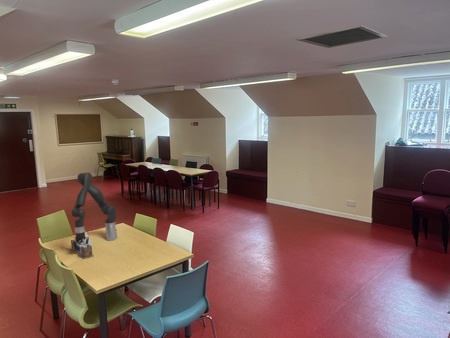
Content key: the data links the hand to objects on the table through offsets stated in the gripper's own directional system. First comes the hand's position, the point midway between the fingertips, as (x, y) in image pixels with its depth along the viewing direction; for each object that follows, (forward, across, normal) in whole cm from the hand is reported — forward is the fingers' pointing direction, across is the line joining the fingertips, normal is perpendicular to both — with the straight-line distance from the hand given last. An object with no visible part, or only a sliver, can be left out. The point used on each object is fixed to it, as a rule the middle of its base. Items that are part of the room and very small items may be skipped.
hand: (81, 250), depth 280 cm
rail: (+2, 0, 0) cm, 2 cm away
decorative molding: (+4, -13, -29) cm, 32 cm away
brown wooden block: (+3, 0, 0) cm, 3 cm away
